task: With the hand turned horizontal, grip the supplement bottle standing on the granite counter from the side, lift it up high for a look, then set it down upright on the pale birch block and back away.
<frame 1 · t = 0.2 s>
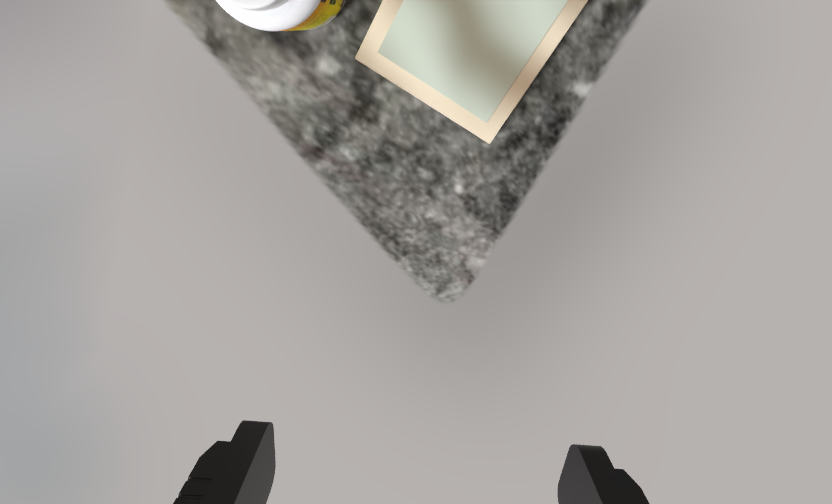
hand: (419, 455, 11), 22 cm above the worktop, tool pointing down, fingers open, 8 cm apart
birch block: (467, 26, 26), on the worktop
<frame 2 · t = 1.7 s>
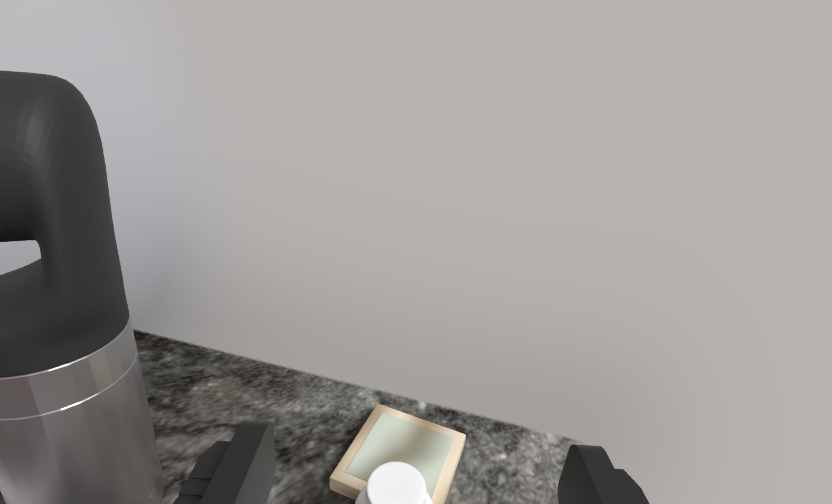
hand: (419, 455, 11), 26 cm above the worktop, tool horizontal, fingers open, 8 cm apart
birch block: (401, 465, 41), on the worktop
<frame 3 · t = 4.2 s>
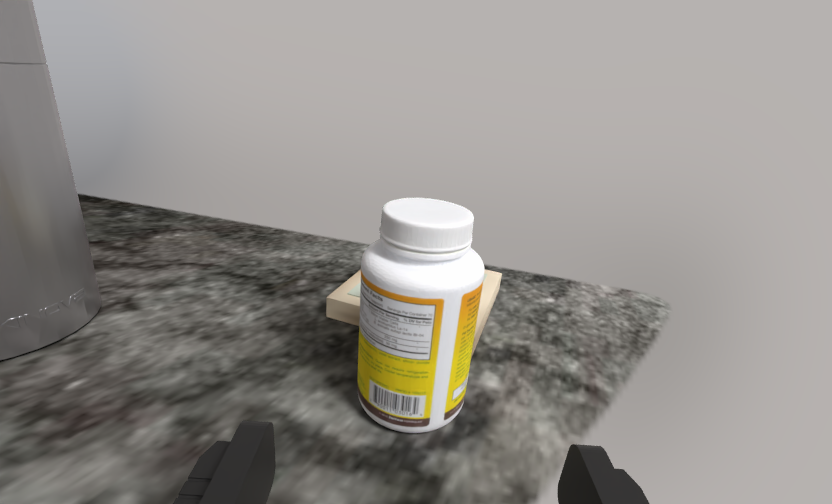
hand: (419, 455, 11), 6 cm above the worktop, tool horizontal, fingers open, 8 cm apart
birch block: (420, 302, 31), on the worktop
supplement bottle: (409, 400, 22), on the worktop
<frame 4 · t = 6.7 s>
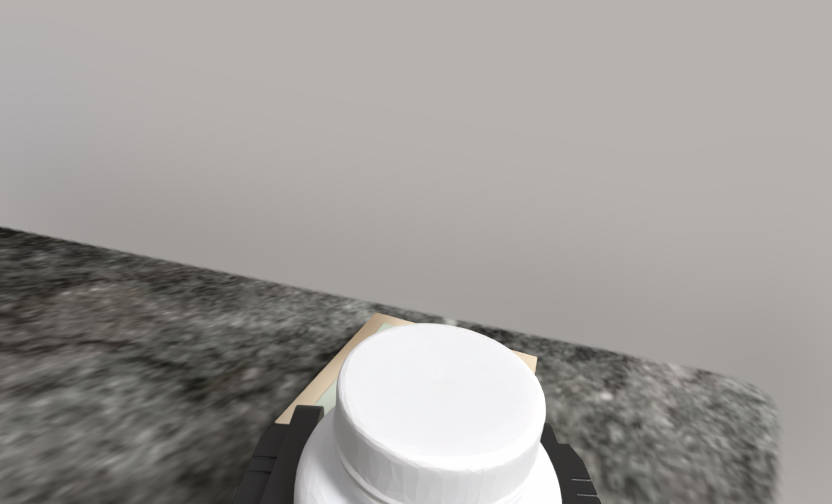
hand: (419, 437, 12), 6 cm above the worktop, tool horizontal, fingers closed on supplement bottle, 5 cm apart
birch block: (421, 408, 21), on the worktop
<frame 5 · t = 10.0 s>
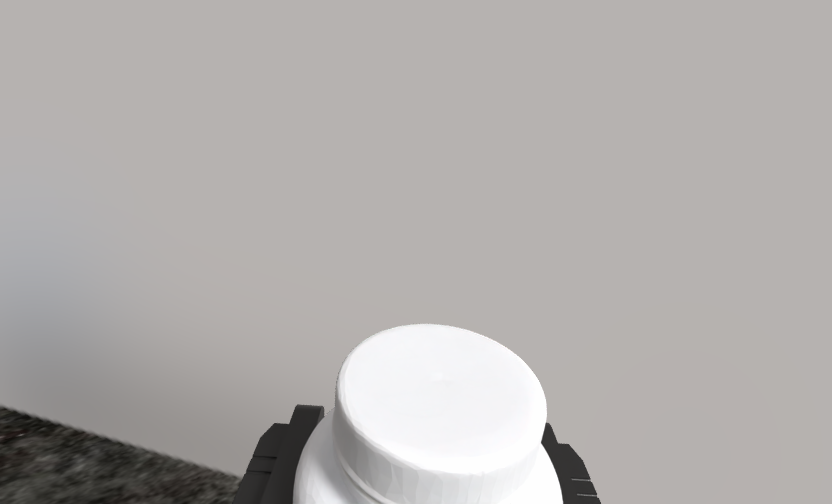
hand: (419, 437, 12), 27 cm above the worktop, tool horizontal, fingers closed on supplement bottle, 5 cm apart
when the fingers open (8 cm above the worktop, at t = 13.7 s): supplement bottle stays where it is, resting on birch block.
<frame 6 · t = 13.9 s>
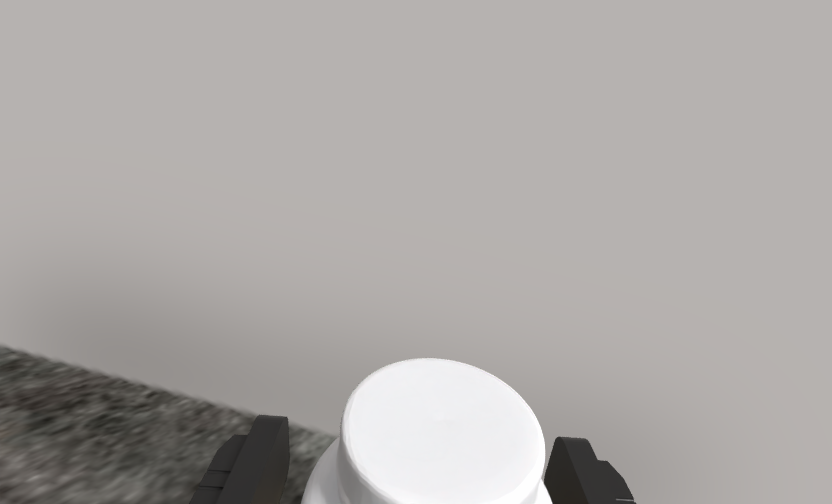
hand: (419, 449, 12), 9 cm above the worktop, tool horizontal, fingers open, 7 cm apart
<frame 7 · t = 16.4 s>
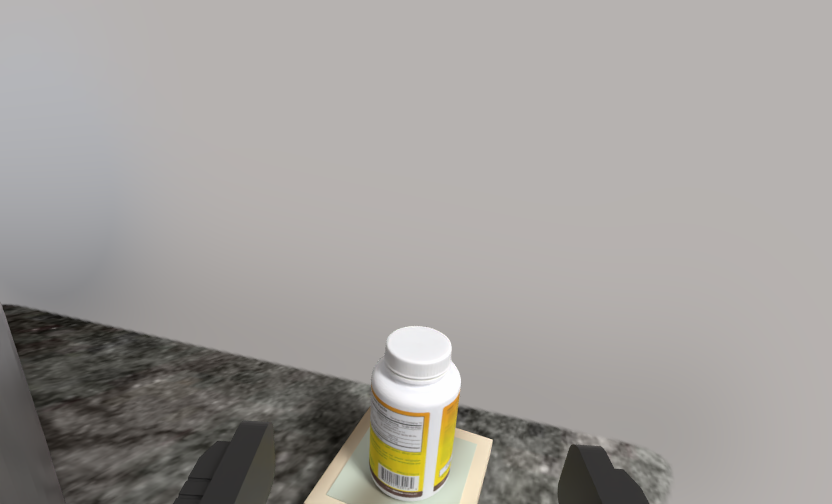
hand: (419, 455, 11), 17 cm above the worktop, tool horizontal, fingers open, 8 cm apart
birch block: (406, 483, 30), on the worktop
supplement bottle: (408, 471, 29), point 1 cm above the worktop, touching birch block
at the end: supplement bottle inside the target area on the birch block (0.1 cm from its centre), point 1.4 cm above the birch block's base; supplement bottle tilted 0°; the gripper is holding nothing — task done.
